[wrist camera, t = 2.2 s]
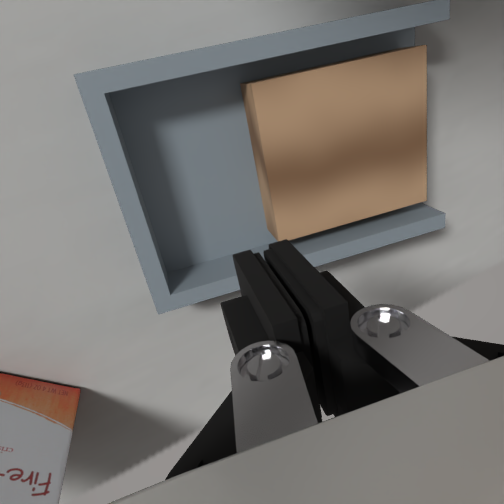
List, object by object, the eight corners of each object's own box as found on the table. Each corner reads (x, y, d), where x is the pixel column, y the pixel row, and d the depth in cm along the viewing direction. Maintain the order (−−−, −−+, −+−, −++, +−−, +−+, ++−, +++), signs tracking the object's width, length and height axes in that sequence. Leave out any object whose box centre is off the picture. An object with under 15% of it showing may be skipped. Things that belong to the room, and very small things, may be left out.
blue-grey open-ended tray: (82, 75, 21) (73, 74, 18) (409, 7, 24) (450, -3, 21) (155, 286, 27) (158, 314, 23) (412, 211, 29) (445, 227, 26)
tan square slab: (240, 83, 23) (251, 84, 20) (399, 48, 24) (426, 44, 22) (267, 229, 26) (279, 243, 24) (403, 190, 28) (426, 200, 26)
